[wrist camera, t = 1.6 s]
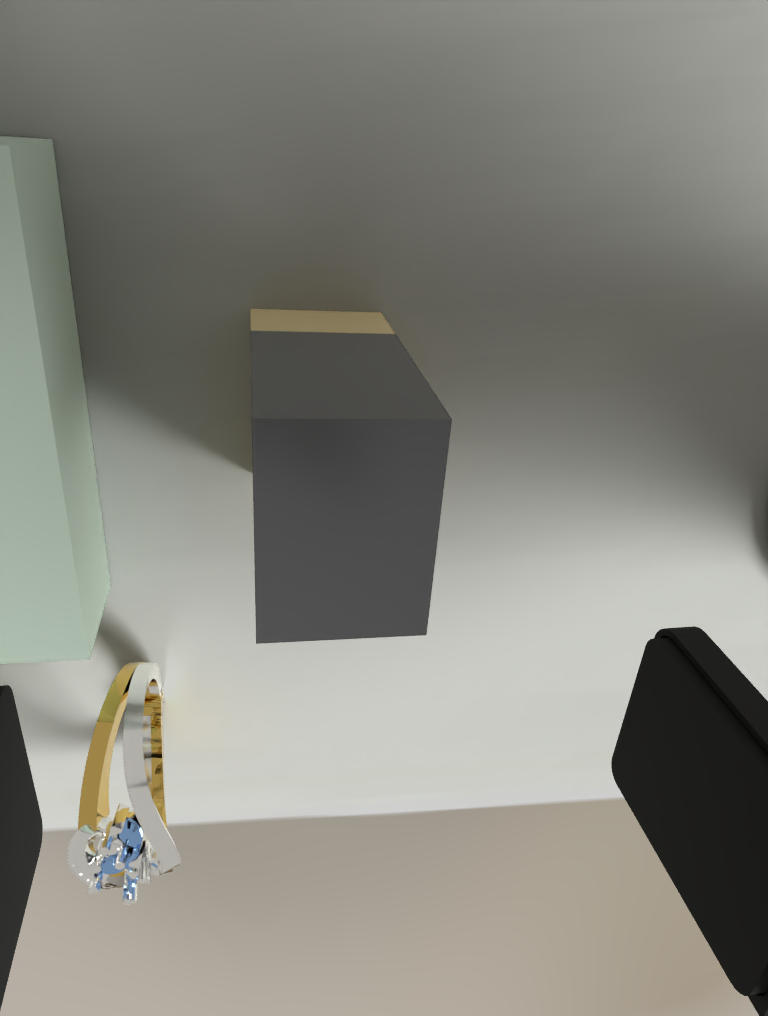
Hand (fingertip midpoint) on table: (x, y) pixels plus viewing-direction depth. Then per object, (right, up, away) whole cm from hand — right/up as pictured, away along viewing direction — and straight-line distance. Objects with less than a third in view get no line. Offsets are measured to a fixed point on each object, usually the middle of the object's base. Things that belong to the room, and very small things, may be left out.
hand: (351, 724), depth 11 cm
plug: (-2, +7, +13) cm, 15 cm away
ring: (-8, -4, +17) cm, 20 cm away
